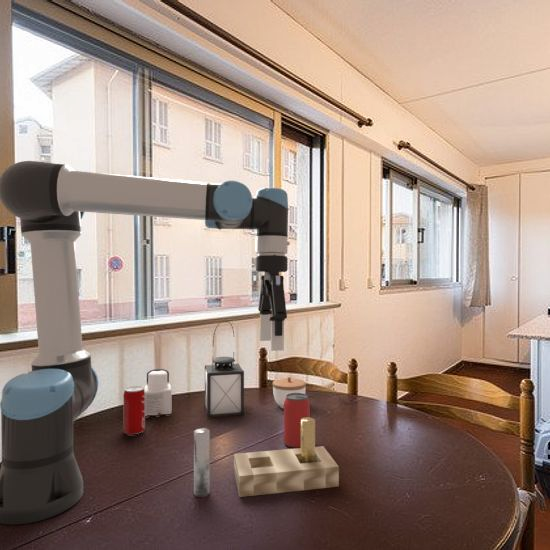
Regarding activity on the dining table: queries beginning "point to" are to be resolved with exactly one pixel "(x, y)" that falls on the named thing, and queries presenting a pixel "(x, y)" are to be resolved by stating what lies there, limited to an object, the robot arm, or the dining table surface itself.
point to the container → (158, 393)
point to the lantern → (224, 387)
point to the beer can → (294, 417)
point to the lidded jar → (287, 388)
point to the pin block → (283, 472)
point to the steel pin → (201, 462)
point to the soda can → (134, 410)
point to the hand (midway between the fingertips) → (270, 345)
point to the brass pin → (307, 440)
